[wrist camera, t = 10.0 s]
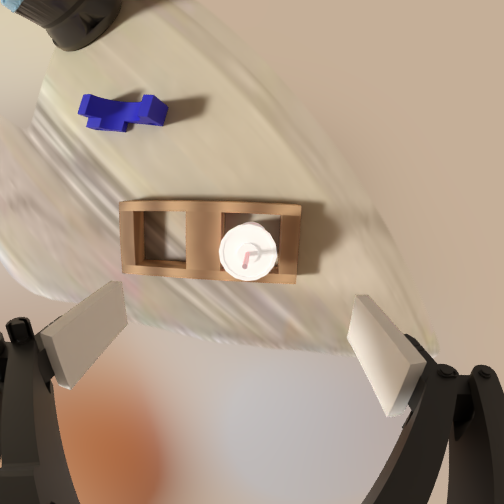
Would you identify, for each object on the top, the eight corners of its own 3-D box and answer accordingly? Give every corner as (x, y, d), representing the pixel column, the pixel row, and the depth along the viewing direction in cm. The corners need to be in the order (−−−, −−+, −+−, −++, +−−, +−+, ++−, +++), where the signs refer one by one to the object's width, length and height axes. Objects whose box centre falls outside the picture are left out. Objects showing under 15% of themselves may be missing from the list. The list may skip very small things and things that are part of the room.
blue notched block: (96, 130, 34) (74, 123, 28) (103, 103, 33) (83, 94, 27) (160, 136, 34) (144, 128, 29) (168, 107, 33) (153, 95, 28)
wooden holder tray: (132, 266, 39) (122, 273, 35) (130, 200, 36) (119, 201, 33) (292, 275, 38) (295, 284, 35) (297, 204, 36) (301, 205, 32)
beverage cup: (219, 235, 37) (195, 262, 24) (253, 206, 36) (248, 216, 23) (248, 268, 38) (241, 311, 25) (282, 241, 37) (294, 270, 23)
